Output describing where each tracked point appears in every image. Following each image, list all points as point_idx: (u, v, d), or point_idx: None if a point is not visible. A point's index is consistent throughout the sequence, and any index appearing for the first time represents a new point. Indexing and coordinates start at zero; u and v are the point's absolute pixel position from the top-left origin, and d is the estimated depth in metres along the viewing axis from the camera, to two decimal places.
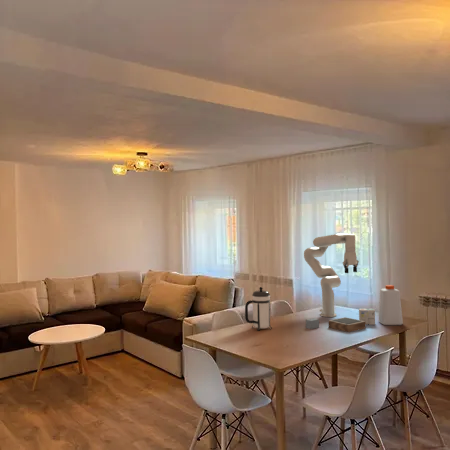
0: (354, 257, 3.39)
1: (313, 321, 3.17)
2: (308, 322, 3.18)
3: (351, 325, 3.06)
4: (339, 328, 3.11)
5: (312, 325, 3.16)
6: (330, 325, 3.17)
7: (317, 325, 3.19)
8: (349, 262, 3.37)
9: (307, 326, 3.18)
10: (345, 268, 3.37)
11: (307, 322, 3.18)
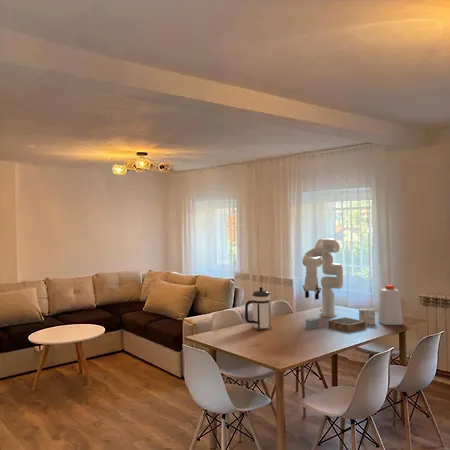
0: None
1: (313, 321, 3.17)
2: (308, 322, 3.18)
3: (351, 325, 3.06)
4: (339, 328, 3.11)
5: (311, 325, 3.16)
6: (330, 325, 3.17)
7: (317, 325, 3.19)
8: None
9: (307, 326, 3.18)
10: (317, 294, 3.15)
11: (307, 322, 3.18)
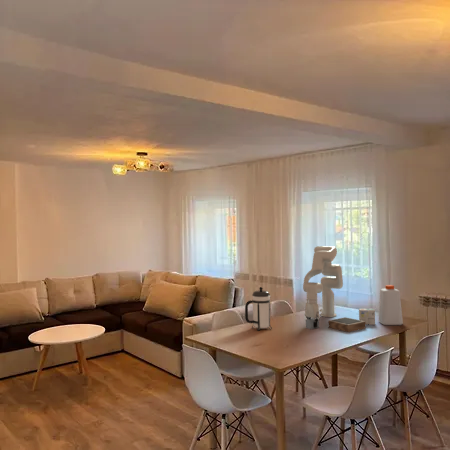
0: None
1: (313, 321, 3.17)
2: (308, 322, 3.18)
3: (351, 325, 3.06)
4: (339, 328, 3.11)
5: (311, 325, 3.16)
6: (330, 325, 3.17)
7: (317, 325, 3.19)
8: None
9: (307, 326, 3.18)
10: (316, 322, 3.16)
11: (307, 322, 3.18)
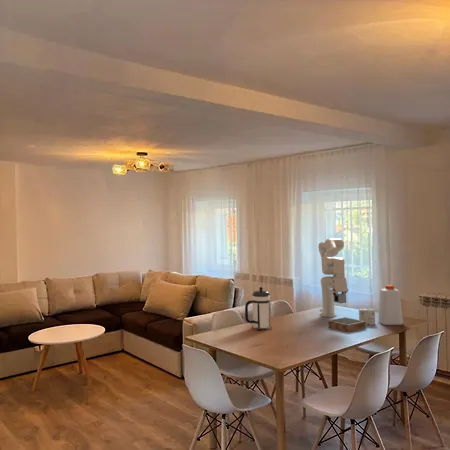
0: None
1: None
2: (343, 297, 3.13)
3: (351, 325, 3.06)
4: (339, 328, 3.11)
5: None
6: (330, 325, 3.17)
7: None
8: None
9: (342, 301, 3.13)
10: None
11: (342, 297, 3.13)
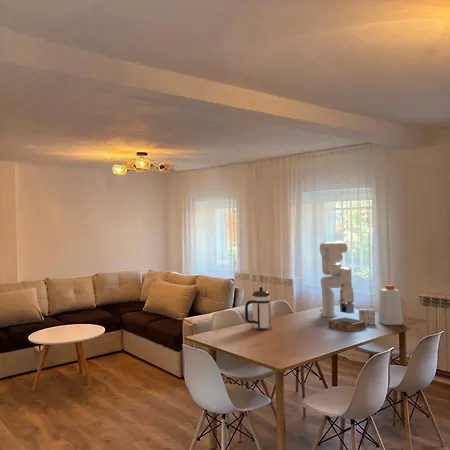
0: None
1: None
2: (351, 307, 3.13)
3: (351, 325, 3.06)
4: (339, 328, 3.11)
5: None
6: (330, 325, 3.17)
7: None
8: None
9: (350, 311, 3.12)
10: None
11: (350, 307, 3.12)
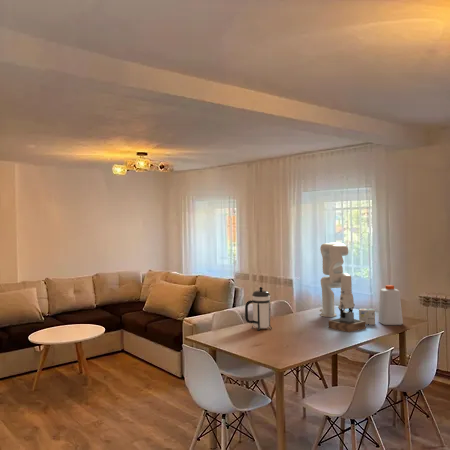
0: None
1: None
2: (351, 315, 3.13)
3: (351, 325, 3.06)
4: (339, 328, 3.11)
5: None
6: (330, 325, 3.17)
7: None
8: None
9: (350, 319, 3.13)
10: None
11: (350, 315, 3.13)
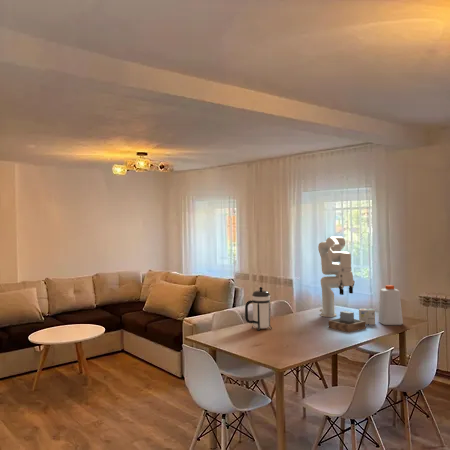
0: None
1: None
2: (351, 315, 3.13)
3: (351, 325, 3.06)
4: (339, 328, 3.11)
5: None
6: (330, 325, 3.17)
7: None
8: None
9: (350, 319, 3.13)
10: None
11: (350, 315, 3.13)
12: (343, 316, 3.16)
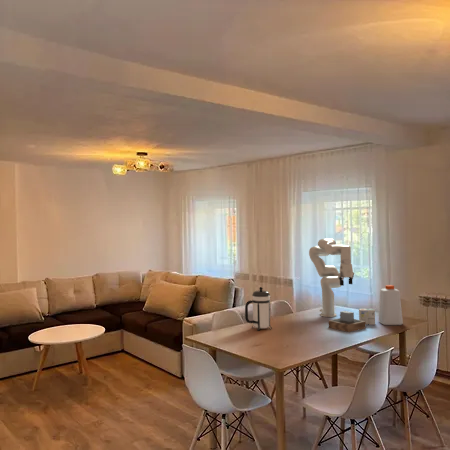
0: None
1: None
2: (351, 315, 3.13)
3: (351, 325, 3.06)
4: (339, 328, 3.11)
5: None
6: (330, 325, 3.17)
7: None
8: None
9: (350, 319, 3.13)
10: (351, 279, 3.37)
11: (350, 315, 3.13)
12: (343, 316, 3.16)
